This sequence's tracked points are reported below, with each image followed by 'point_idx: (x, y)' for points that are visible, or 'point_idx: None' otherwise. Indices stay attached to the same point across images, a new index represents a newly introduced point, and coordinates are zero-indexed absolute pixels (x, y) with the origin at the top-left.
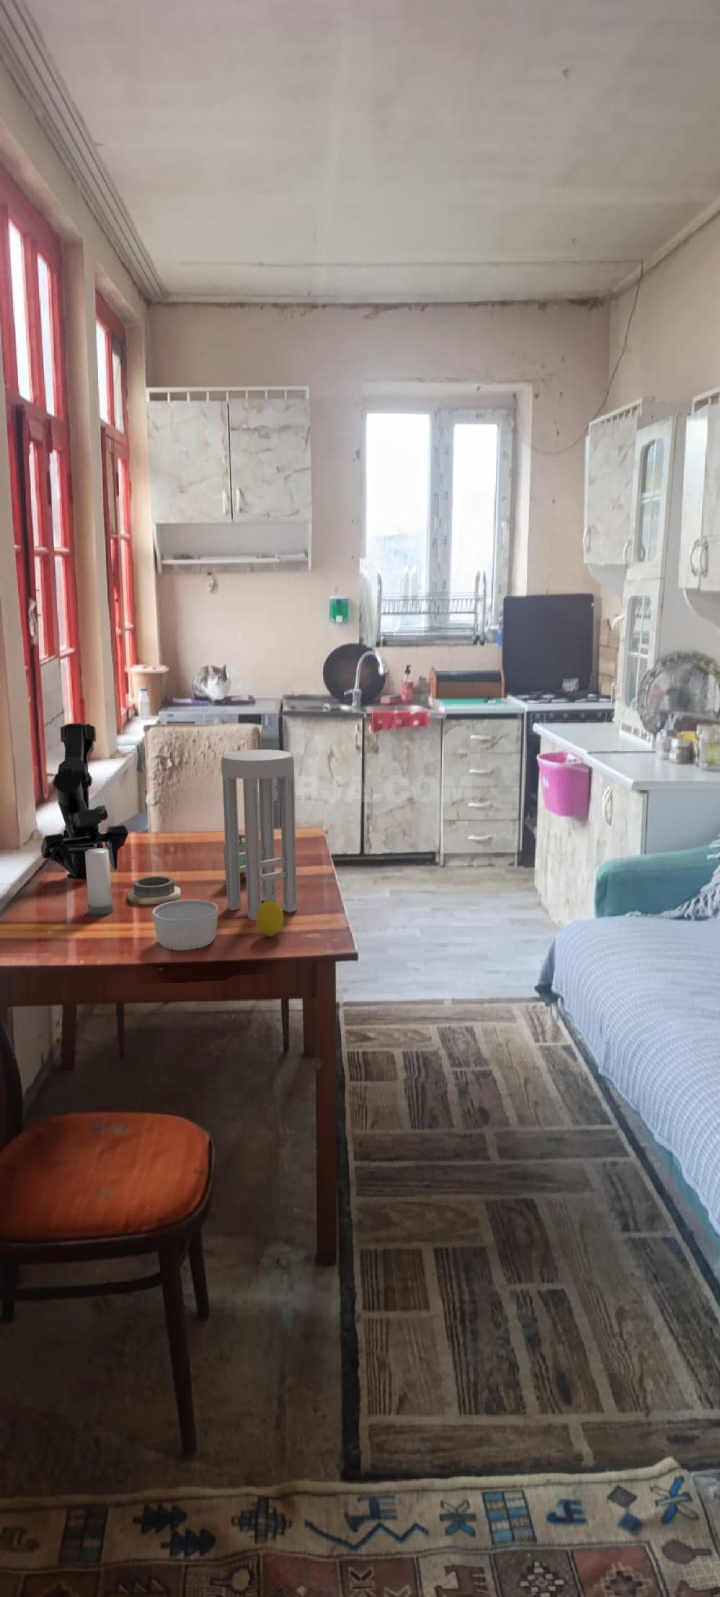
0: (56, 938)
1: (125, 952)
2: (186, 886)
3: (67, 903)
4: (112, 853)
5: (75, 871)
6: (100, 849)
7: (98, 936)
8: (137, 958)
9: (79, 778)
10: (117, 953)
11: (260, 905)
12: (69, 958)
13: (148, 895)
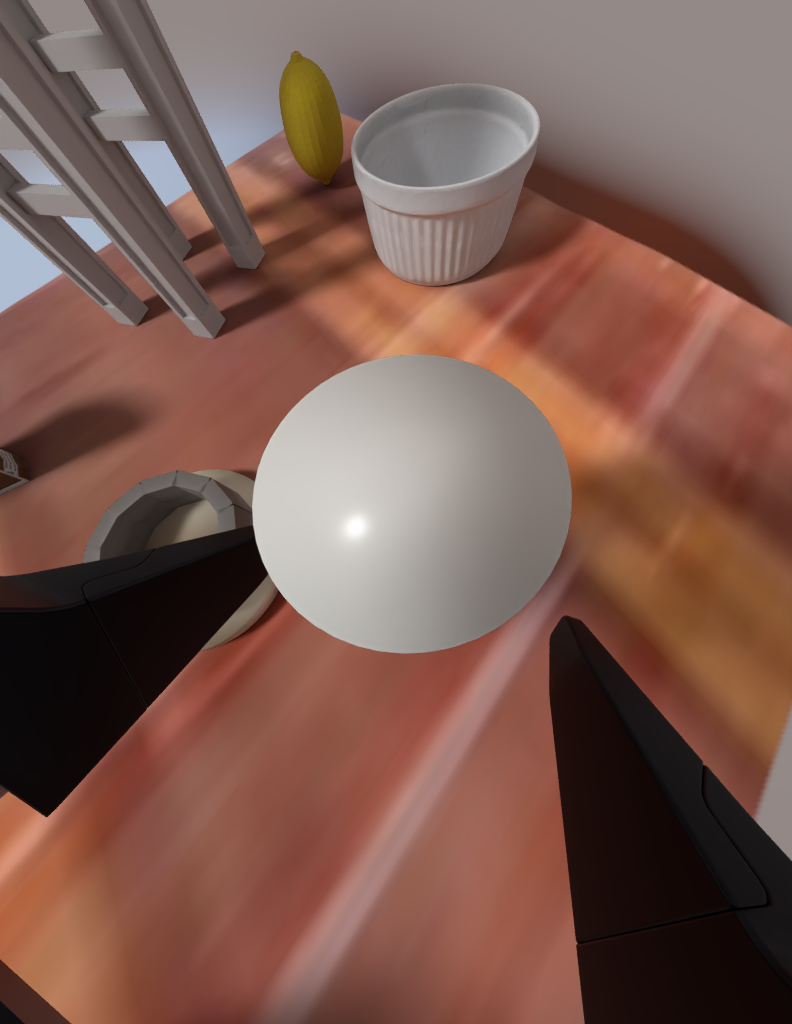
0: (683, 466)
1: (581, 270)
2: (77, 559)
3: (431, 804)
4: (177, 573)
5: (577, 632)
6: (307, 519)
7: (568, 392)
8: (582, 233)
9: None
10: (600, 275)
11: (310, 84)
12: (722, 317)
13: (251, 512)
